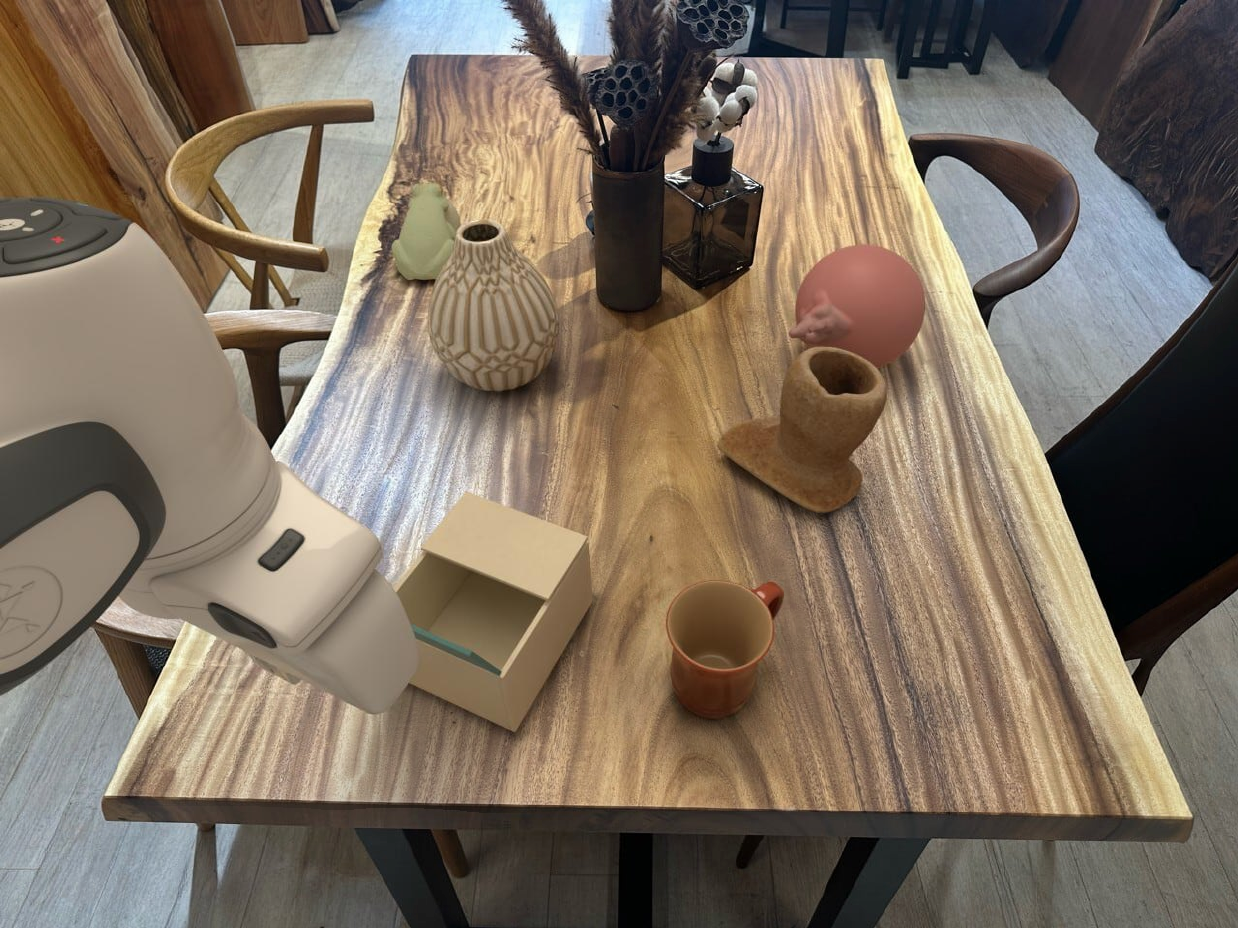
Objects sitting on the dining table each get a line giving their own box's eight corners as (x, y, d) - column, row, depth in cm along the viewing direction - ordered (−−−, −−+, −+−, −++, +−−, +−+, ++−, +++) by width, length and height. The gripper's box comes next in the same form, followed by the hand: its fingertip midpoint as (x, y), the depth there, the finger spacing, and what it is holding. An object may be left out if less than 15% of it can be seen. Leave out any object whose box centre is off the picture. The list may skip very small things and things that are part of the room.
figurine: (475, 227, 129) (466, 167, 121) (459, 286, 117) (448, 224, 110) (412, 227, 129) (399, 168, 122) (390, 286, 118) (374, 224, 110)
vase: (571, 402, 100) (560, 261, 85) (441, 419, 98) (408, 278, 83) (554, 326, 110) (542, 189, 96) (437, 340, 109) (407, 203, 94)
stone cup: (884, 477, 90) (919, 373, 80) (817, 533, 85) (845, 430, 74) (779, 410, 98) (798, 308, 87) (712, 457, 93) (723, 354, 82)
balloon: (736, 361, 105) (748, 258, 94) (846, 309, 112) (869, 208, 101) (819, 428, 96) (844, 323, 85) (932, 367, 104) (969, 263, 92)
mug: (709, 751, 69) (719, 693, 61) (642, 680, 73) (644, 618, 66) (803, 670, 74) (823, 607, 66) (735, 608, 79) (746, 543, 71)
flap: (502, 671, 63) (499, 676, 63) (368, 612, 67) (365, 616, 66) (472, 650, 56) (469, 656, 56) (325, 586, 60) (322, 591, 60)
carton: (515, 732, 70) (501, 673, 62) (392, 675, 74) (366, 612, 66) (592, 601, 79) (588, 535, 72) (480, 556, 83) (465, 490, 76)
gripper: (-9, 496, 40) (121, 642, 50) (316, 656, 33) (390, 785, 44) (97, 416, 43) (198, 566, 54) (407, 546, 37) (455, 688, 47)
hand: (286, 665), depth 49 cm, fingers closed
